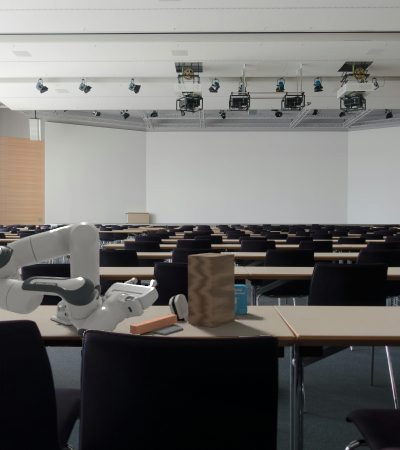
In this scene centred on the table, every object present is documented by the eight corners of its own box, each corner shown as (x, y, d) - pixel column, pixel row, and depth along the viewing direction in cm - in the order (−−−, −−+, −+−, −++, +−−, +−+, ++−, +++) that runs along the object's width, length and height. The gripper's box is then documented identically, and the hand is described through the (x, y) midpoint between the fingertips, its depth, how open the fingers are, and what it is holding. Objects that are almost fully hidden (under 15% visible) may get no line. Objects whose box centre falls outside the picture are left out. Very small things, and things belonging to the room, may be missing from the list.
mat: (135, 329, 168) (135, 327, 168) (154, 324, 176) (154, 322, 176) (164, 335, 160) (164, 333, 160) (183, 329, 168) (183, 327, 168)
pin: (130, 333, 160) (130, 325, 160) (170, 321, 177) (170, 314, 177) (136, 335, 158) (136, 326, 158) (177, 322, 176) (177, 315, 176)
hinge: (186, 321, 181) (177, 297, 181) (175, 325, 182) (166, 300, 182) (193, 312, 198) (186, 290, 198) (183, 315, 198) (175, 293, 199)
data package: (218, 314, 194) (218, 285, 194) (219, 312, 198) (219, 284, 198) (247, 314, 193) (247, 286, 192) (247, 312, 197) (247, 284, 197)
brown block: (188, 323, 178) (187, 255, 178) (209, 316, 189) (209, 252, 189) (213, 327, 171) (213, 256, 170) (234, 320, 182) (234, 254, 181)
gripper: (102, 308, 162) (127, 284, 171) (145, 316, 149) (169, 290, 159) (95, 294, 159) (121, 270, 168) (138, 301, 147) (163, 275, 156)
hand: (145, 280), depth 163 cm, fingers open, 8 cm apart
